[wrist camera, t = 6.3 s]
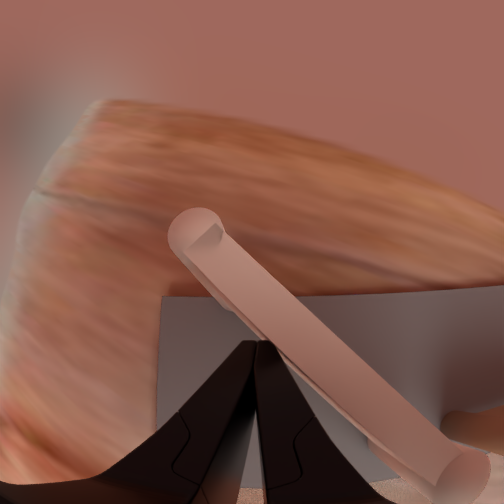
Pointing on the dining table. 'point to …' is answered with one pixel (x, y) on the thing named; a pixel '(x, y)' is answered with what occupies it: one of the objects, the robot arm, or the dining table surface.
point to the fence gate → (328, 363)
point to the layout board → (370, 351)
